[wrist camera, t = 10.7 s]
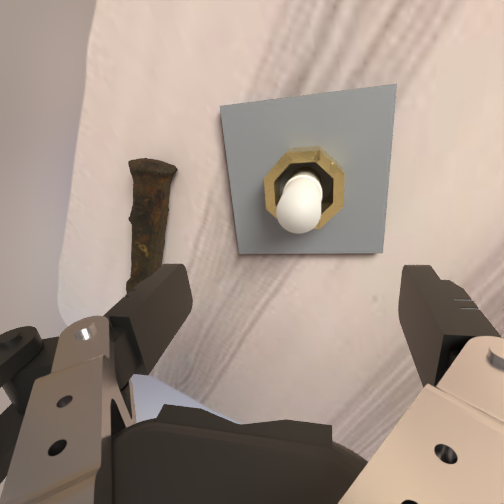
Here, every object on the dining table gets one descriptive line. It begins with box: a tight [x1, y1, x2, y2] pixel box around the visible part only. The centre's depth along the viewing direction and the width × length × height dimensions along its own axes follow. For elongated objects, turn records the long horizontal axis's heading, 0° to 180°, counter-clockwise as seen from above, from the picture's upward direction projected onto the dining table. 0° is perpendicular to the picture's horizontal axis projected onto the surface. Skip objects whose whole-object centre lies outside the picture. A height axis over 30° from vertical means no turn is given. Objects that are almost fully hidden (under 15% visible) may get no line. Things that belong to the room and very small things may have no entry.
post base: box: [220, 84, 397, 254], centre depth 23 cm, size 14×14×10 cm
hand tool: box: [126, 158, 178, 294], centre depth 32 cm, size 19×4×5 cm, turn 164°
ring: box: [264, 146, 345, 229], centre depth 25 cm, size 6×6×4 cm
